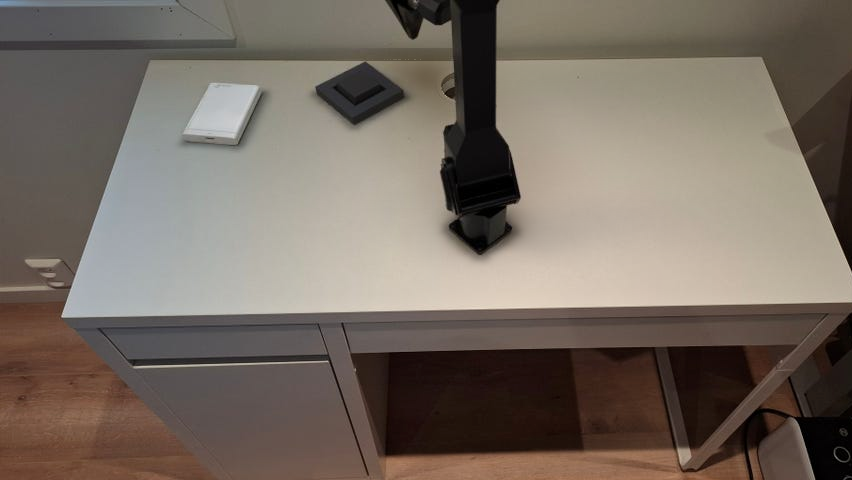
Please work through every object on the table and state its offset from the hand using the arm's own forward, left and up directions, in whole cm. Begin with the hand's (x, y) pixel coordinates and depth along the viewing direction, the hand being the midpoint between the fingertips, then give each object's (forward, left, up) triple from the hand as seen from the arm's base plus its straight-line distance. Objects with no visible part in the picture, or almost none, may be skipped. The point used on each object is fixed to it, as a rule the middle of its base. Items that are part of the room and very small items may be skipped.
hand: (413, 37), depth 90 cm
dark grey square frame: (+6, +7, -11) cm, 14 cm away
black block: (+6, +7, -11) cm, 14 cm away
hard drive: (+16, +26, -11) cm, 32 cm away
